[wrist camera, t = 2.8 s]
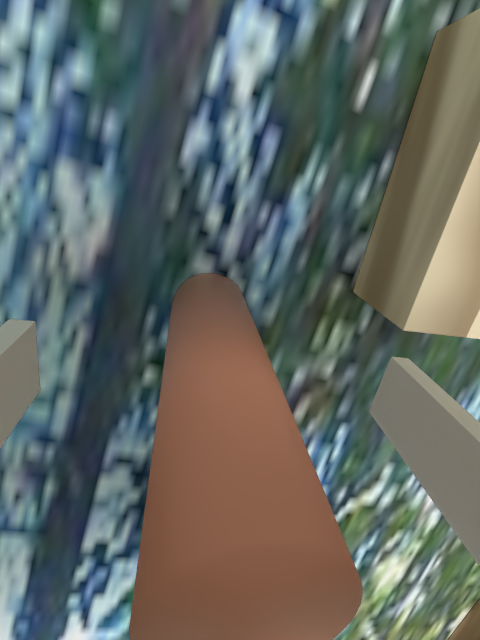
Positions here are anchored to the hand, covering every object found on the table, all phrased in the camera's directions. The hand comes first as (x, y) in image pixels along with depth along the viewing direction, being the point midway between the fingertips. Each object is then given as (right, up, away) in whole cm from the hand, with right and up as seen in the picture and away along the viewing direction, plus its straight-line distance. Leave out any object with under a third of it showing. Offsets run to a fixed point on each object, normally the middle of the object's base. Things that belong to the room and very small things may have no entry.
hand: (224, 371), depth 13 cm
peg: (-1, +3, +6) cm, 6 cm away
